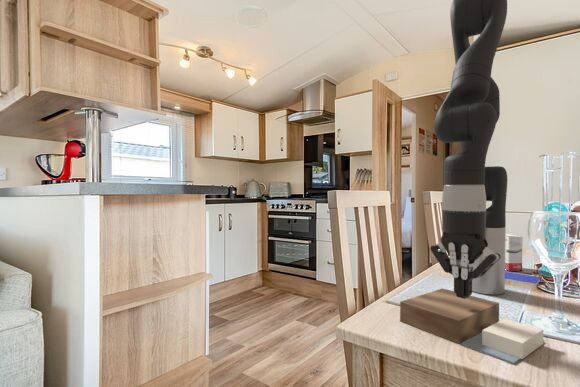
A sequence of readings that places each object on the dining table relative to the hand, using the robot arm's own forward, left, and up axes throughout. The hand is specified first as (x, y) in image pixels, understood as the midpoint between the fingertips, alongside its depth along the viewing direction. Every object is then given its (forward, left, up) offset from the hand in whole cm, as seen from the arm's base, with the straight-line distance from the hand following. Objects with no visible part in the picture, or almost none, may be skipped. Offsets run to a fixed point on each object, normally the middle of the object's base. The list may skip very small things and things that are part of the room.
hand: (462, 296), depth 64 cm
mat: (+1, +8, -6) cm, 10 cm away
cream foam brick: (0, +9, -3) cm, 9 cm away
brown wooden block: (-1, -3, -6) cm, 7 cm away
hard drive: (-50, -9, -7) cm, 51 cm away
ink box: (-63, -16, -6) cm, 65 cm away
